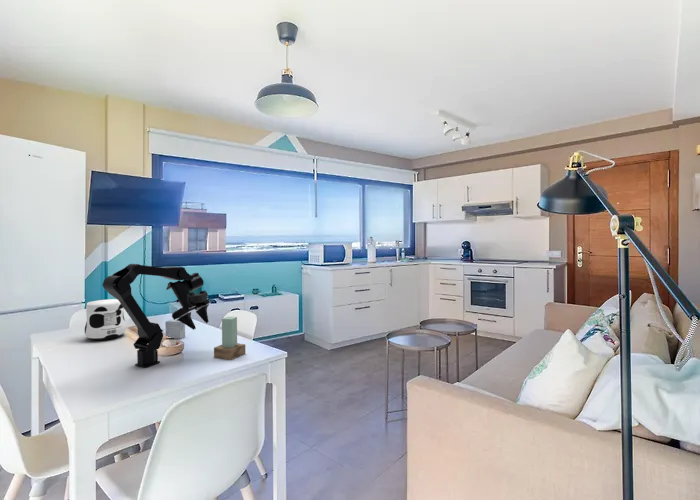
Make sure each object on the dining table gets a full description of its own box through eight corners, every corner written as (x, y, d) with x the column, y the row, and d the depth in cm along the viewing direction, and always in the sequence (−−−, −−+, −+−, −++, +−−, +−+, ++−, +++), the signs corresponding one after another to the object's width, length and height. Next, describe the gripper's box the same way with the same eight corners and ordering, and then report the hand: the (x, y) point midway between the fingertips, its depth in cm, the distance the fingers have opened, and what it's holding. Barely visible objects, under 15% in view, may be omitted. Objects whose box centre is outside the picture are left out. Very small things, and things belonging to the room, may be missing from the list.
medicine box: (185, 336, 186) (185, 319, 186) (180, 339, 182) (180, 321, 182) (170, 336, 187) (170, 319, 187) (165, 338, 183) (165, 321, 182)
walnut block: (230, 359, 151) (230, 350, 151) (214, 356, 155) (213, 347, 155) (245, 353, 160) (245, 344, 159) (229, 350, 163) (229, 341, 163)
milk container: (101, 332, 194) (100, 298, 193) (133, 333, 193) (133, 298, 192) (75, 342, 177) (74, 304, 176) (111, 342, 176) (110, 305, 175)
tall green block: (232, 347, 155) (231, 319, 154) (222, 347, 155) (221, 318, 155) (237, 344, 159) (236, 317, 159) (227, 344, 160) (227, 316, 159)
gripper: (183, 290, 148) (202, 324, 148) (209, 281, 166) (227, 311, 166) (163, 302, 150) (182, 336, 150) (191, 292, 168) (208, 322, 168)
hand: (201, 325), depth 159 cm, fingers open, 9 cm apart
